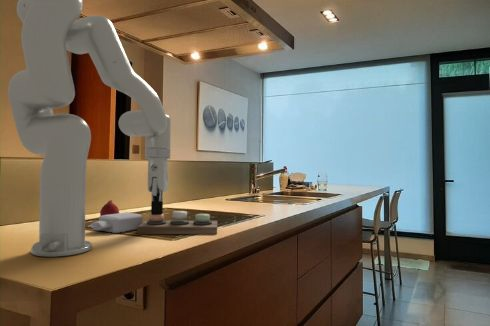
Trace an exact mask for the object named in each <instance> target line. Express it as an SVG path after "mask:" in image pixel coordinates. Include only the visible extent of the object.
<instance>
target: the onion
mask: <svg viewBox="0 0 490 326" xmlns="http://www.w3.org/2000/svg"><path fill="white" fill-rule="evenodd" d="M117 213H120V209H119V207H118V206H117V205H116V204H115V203H113V200H112V199H110V200H108V201H107V202H106V203H105V204H104V205H103V206H102V207H101V209H100V212H99V215H100V216H102V215H109V214H117ZM100 216H99V217H100Z"/></svg>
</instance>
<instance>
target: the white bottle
mask: <svg viewBox="0 0 490 326" xmlns="http://www.w3.org/2000/svg"><path fill="white" fill-rule="evenodd" d="M143 222H144V221H143V215H142V214H140V213H134V212H119V213H117V214H109V215H102V216H99V217H98V221H93V222H92V223H91V224H90V225H87V228H91V229H93V230H94V231H101V232H106V233H107V232H108V233H111V232H112V234H120V232H121V233H125V232H126V231H127V232H131V231H132V232H133V231H137V227H138V226H139V225H140V224H142V223H143Z"/></svg>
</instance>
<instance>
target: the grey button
mask: <svg viewBox="0 0 490 326" xmlns="http://www.w3.org/2000/svg"><path fill="white" fill-rule="evenodd" d="M171 218H172V219H174V220H186V219H187V218H188V211H186V210H174V211H172V217H171Z"/></svg>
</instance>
